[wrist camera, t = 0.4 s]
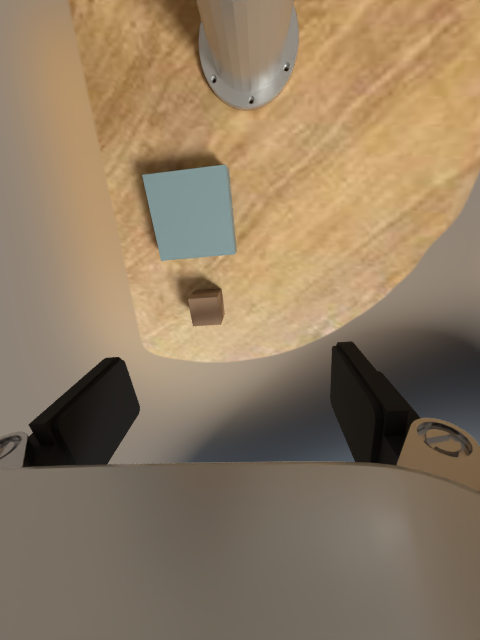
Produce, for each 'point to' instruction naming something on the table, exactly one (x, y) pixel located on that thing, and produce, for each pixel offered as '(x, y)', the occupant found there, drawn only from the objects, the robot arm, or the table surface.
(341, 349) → the robot arm
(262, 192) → the table surface
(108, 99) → the table surface
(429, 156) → the table surface
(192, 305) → the walnut cube
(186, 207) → the plinth block
